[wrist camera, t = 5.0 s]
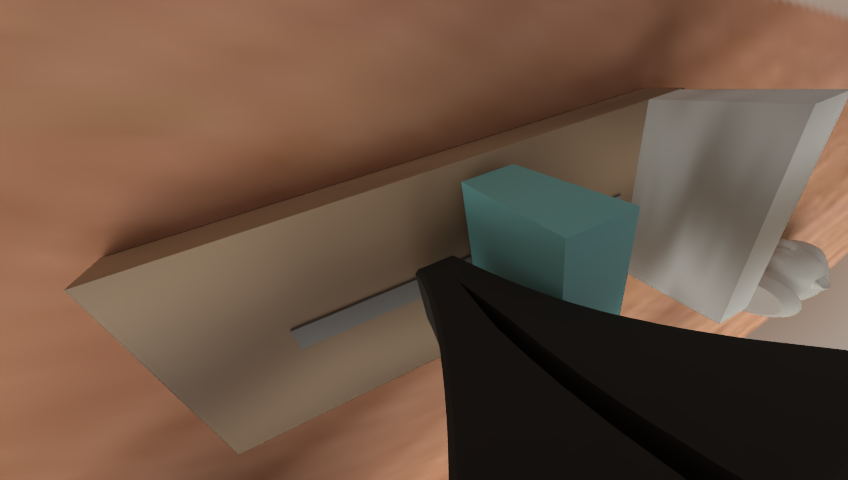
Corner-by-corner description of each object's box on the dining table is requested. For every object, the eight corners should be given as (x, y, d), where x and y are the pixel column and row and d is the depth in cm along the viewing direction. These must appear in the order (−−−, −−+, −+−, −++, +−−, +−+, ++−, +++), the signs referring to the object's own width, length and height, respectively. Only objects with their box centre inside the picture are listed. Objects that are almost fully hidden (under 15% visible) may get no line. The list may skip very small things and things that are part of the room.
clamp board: (619, 243, 16) (751, 304, 11) (244, 415, 12) (213, 628, 7) (644, 88, 12) (857, 86, 8) (100, 258, 8) (-173, 499, 3)
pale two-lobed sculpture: (766, 228, 25) (761, 286, 26) (708, 246, 22) (705, 311, 23) (854, 233, 21) (845, 302, 22) (797, 256, 18) (789, 334, 19)
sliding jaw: (520, 315, 12) (603, 398, 9) (482, 334, 12) (555, 427, 9) (513, 163, 9) (639, 205, 6) (461, 181, 9) (565, 238, 5)
